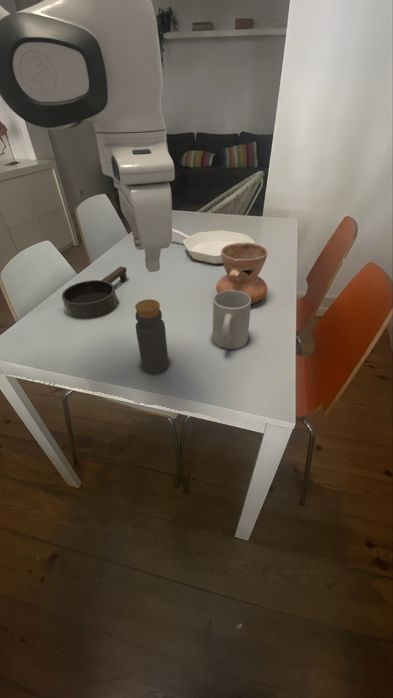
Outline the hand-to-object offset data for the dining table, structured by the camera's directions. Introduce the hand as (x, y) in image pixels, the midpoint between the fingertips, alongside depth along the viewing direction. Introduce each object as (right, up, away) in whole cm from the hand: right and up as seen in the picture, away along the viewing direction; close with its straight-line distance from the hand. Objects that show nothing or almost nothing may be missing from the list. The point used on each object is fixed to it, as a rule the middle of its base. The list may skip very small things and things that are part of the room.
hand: (146, 258), depth 50 cm
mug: (+16, -13, +25) cm, 33 cm away
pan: (+9, +25, +74) cm, 79 cm away
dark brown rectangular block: (-17, +5, +50) cm, 53 cm away
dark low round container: (-22, -2, +41) cm, 46 cm away
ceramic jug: (+21, +1, +43) cm, 48 cm away
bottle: (-1, -18, +20) cm, 27 cm away
